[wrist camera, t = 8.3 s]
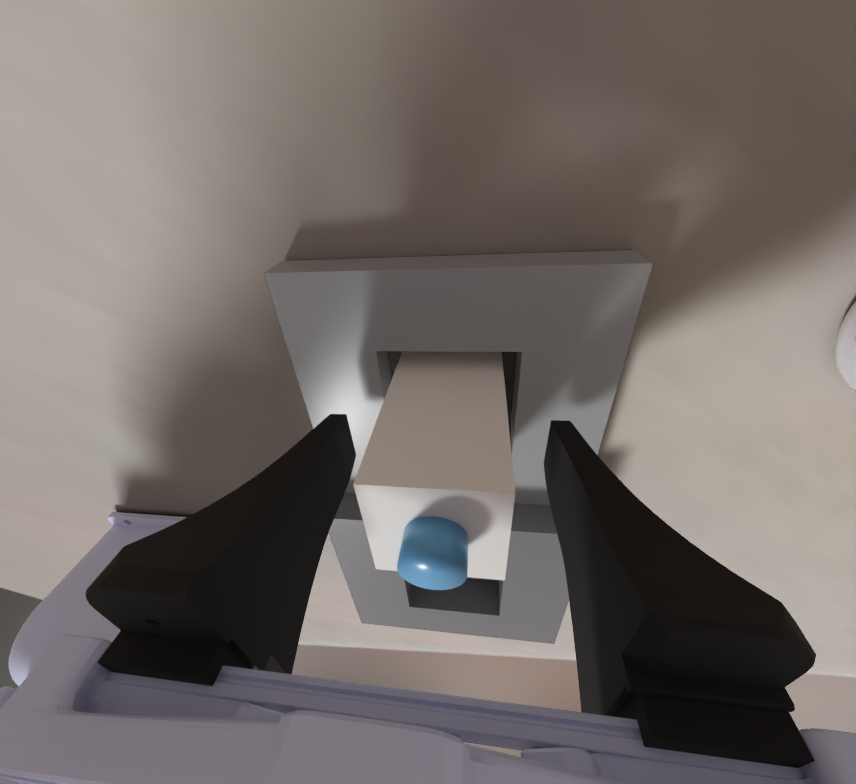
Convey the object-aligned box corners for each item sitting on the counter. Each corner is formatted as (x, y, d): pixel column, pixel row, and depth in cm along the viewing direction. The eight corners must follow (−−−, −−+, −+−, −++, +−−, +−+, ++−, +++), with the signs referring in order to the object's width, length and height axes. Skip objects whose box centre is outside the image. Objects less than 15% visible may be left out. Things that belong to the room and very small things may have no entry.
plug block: (410, 425, 17) (367, 602, 11) (402, 350, 15) (341, 518, 8) (496, 427, 17) (506, 616, 10) (501, 351, 14) (519, 530, 8)
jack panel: (372, 577, 26) (361, 623, 23) (283, 260, 13) (239, 288, 11) (546, 592, 24) (554, 643, 22) (635, 249, 12) (676, 279, 9)
